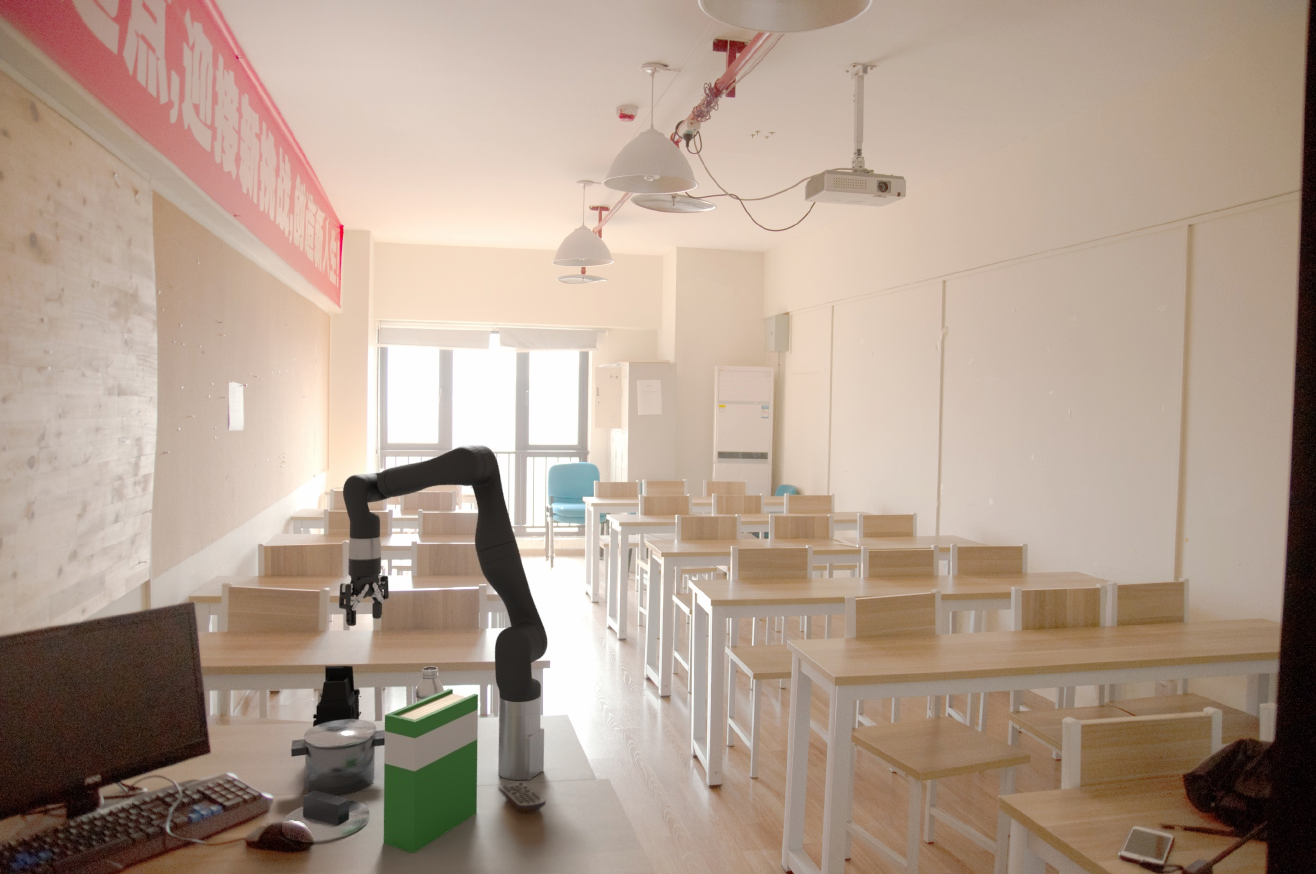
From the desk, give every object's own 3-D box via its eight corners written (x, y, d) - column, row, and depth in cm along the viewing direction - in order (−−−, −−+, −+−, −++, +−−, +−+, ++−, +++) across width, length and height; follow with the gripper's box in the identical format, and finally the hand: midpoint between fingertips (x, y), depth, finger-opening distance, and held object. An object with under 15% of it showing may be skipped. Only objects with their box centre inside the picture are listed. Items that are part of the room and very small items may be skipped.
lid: (386, 814, 168) (386, 789, 168) (325, 852, 153) (325, 824, 153) (326, 799, 174) (326, 774, 174) (261, 833, 160) (262, 806, 159)
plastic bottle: (436, 759, 194) (437, 673, 194) (409, 756, 196) (410, 671, 195) (448, 748, 201) (449, 665, 200) (422, 746, 202) (423, 663, 202)
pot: (385, 762, 192) (385, 714, 192) (389, 789, 179) (389, 737, 178) (292, 774, 185) (293, 724, 185) (289, 802, 171) (290, 749, 171)
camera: (367, 736, 208) (367, 656, 207) (354, 758, 194) (355, 672, 194) (324, 738, 206) (325, 656, 206) (309, 760, 193) (310, 673, 192)
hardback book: (447, 805, 172) (449, 688, 171) (476, 813, 168) (478, 694, 168) (383, 843, 156) (384, 715, 155) (413, 853, 152) (415, 722, 152)
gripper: (355, 561, 197) (354, 630, 197) (397, 552, 210) (396, 617, 210) (331, 558, 200) (330, 626, 200) (373, 550, 213) (373, 614, 213)
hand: (364, 621), depth 205 cm, fingers open, 8 cm apart
